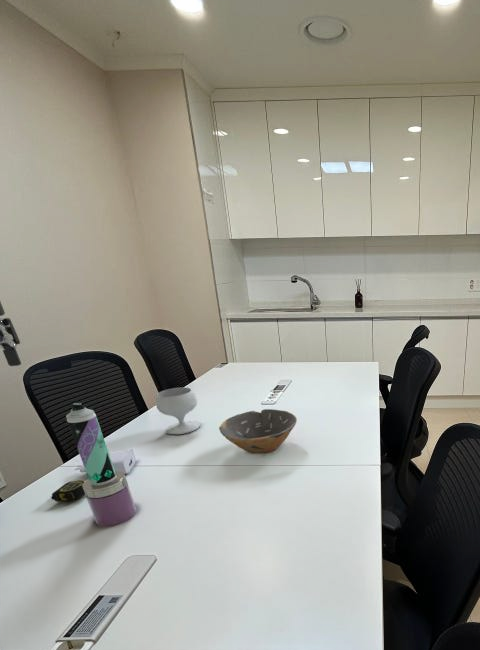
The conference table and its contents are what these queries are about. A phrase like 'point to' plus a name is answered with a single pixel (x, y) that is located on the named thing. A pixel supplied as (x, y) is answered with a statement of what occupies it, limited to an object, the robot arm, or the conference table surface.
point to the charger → (119, 461)
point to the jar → (113, 507)
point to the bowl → (258, 430)
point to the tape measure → (69, 491)
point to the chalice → (177, 408)
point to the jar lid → (105, 487)
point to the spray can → (91, 445)
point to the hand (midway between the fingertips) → (4, 370)
